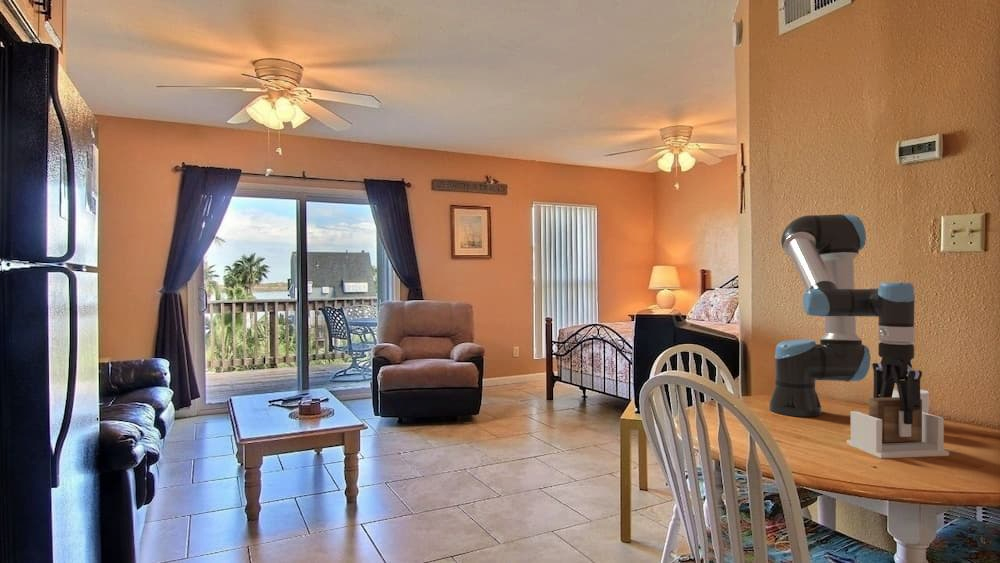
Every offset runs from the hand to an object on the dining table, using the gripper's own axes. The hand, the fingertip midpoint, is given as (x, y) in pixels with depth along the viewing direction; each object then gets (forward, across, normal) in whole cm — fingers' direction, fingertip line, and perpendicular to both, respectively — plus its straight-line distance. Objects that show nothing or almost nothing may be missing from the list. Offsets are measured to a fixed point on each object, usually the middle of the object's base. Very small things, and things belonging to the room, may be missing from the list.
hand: (895, 432), depth 145 cm
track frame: (+4, 0, 0) cm, 4 cm away
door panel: (+3, 0, 0) cm, 3 cm away
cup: (+4, -14, +16) cm, 22 cm away
